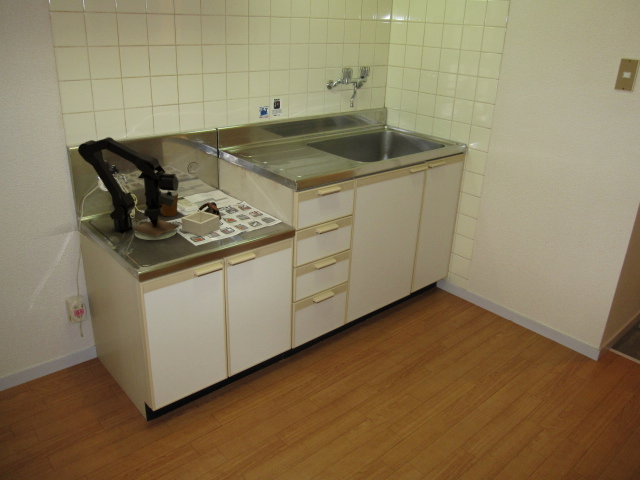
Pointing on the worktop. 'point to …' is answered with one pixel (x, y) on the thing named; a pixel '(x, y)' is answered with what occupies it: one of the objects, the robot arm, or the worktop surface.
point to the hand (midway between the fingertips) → (155, 224)
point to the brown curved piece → (210, 208)
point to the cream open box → (200, 223)
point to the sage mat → (164, 235)
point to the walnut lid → (155, 231)
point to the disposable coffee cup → (167, 209)
